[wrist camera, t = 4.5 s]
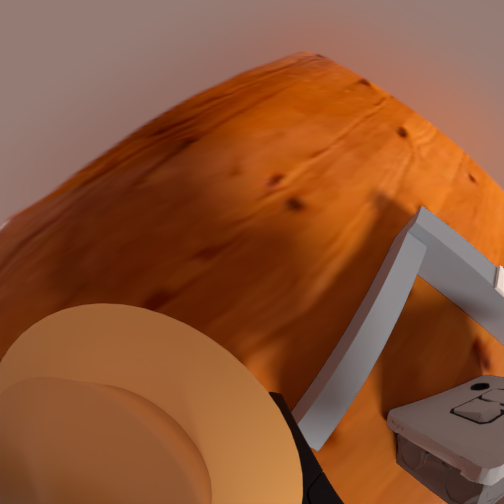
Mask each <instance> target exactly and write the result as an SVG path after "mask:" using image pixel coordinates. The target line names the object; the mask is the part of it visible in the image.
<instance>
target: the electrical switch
mask: <svg viewBox="0 0 504 504" xmlns="http://www.w3.org/2000/svg"><path fill="white" fill-rule="evenodd" d="M386 425H387V426H388V428H389V429H390V430H392V431H393V432H395V433H398V438H397V442H398V453H397V460H396V463H397V464H398V465H400V466H401V467H402V468H403V469H404V470H406V471H407V472H408V473H409V474H411V475H412V476H413V477H414V478H416V479H417V480H418V481H419V482H421V483H422V484H423V485H424V486H426V487H427V488H428V489H429V490H431V491H432V492H433V493H435V494H436V495H437V496H439V497H440V498H441V499H443V500H444V501H445V502H447V503H448V504H494V503H496V502H497V501H498V500H500V499H501V498H502V497H503V496H504V377H499V376H493V375H484V376H480V377H477V378H475V379H473V380H471V381H469V382H466V383H464V384H462V385H459V386H457V387H454V388H452V389H449V390H447V391H444V392H442V393H439V394H436V395H434V396H431V397H428V398H425V399H422V400H420V401H417V402H414V403H411V404H407V405H404V406H401V407H398V408H394V409H392V410H390V411H389V413H388V418H387V423H386ZM424 461H425V464H424ZM450 468H451V469H450ZM496 497H497V498H496Z"/></svg>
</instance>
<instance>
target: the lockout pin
mask: <svg viewBox="0 0 504 504" xmlns="http://www.w3.org/2000/svg"><path fill="white" fill-rule="evenodd" d="M302 497H303V479H302V470H301V464H300V459H299V454H298V451H297V448H296V445H295V442H294V439H293V436H292V433H291V431H290V429H289V427H288V425H287V423H286V421H285V419H284V417H283V415H282V413H281V411H280V409H279V408H278V406H277V405H276V404H275V402H274V401H273V399H272V398H271V396H270V395H269V393H268V392H267V390H266V389H265V388H264V387H263V386H262V384H261V383H260V382H259V381H258V380H257V379H256V378H255V376H254V375H253V374H252V373H251V372H250V371H249V369H247V368H246V367H245V366H244V365H243V364H242V363H241V362H240V361H239V360H237V359H236V358H235V357H234V356H233V355H232V354H231V353H230V352H229V351H227V350H226V349H225V348H223V347H222V346H220V345H219V344H218V343H216V342H215V341H214V340H212V339H211V338H210V337H208V336H206V335H205V334H203V333H201V332H199V331H198V330H196V329H194V328H192V327H191V326H189V325H187V324H185V323H183V322H180V321H178V320H176V319H173V318H171V317H169V316H167V315H164V314H161V313H158V312H154V311H151V310H148V309H145V308H140V307H134V306H129V305H123V304H105V303H99V304H88V305H80V306H76V307H72V308H68V309H64V310H61V311H59V312H56V313H54V314H51V315H49V316H47V317H45V318H43V319H42V320H40V321H38V322H37V323H35V324H33V325H32V326H31V327H30V328H29V329H27V330H26V331H25V332H24V333H23V334H21V335H20V336H19V338H18V339H17V340H16V341H15V342H14V343H13V344H12V345H11V347H10V348H9V349H8V351H7V352H6V354H5V356H4V357H3V359H2V360H1V362H0V504H302Z"/></svg>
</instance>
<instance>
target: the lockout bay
mask: <svg viewBox="0 0 504 504" xmlns="http://www.w3.org/2000/svg"><path fill="white" fill-rule="evenodd" d="M417 275H418V276H420V277H421V278H422V279H424V280H425V281H426V282H428V283H429V284H430V285H432V286H433V287H434V288H435V289H437V290H438V291H439V292H441V293H442V294H443V295H444V296H446V297H447V298H448V299H449V300H451V301H452V302H453V303H454V304H456V305H457V306H458V307H459V308H461V309H462V310H463V311H464V312H466V313H467V314H468V315H469V316H470V317H472V318H473V319H474V320H475V321H476V322H477V323H479V324H480V325H481V326H482V327H483V328H484V329H486V330H487V331H488V332H489V333H490V334H491V335H492V336H494V337H495V338H496V339H497V340H498V341H499V342H500V343H501V344H503V345H504V268H503V267H502V266H501V265H500V266H499V267H498V268H497V267H496V266H494V265H493V264H492V263H491V262H490V261H489V260H488V259H487V258H486V257H485V256H484V255H482V254H481V253H480V252H479V251H478V250H477V249H476V248H475V247H473V246H472V245H471V244H470V243H469V242H468V241H466V240H465V239H464V238H463V237H462V236H460V235H459V234H458V233H457V232H456V231H454V230H453V229H452V228H451V227H449V226H448V225H447V224H446V223H444V222H443V221H442V220H440V219H439V218H438V217H437V216H435V215H434V214H433V213H431V212H430V211H429V210H427V209H426V208H425V207H423V206H421V207H420V209H419V210H418V211H417V212H416V213H415V215H414V216H413V217H412V218H411V219H410V221H409V222H408V223H407V224H406V225H405V226H404V228H403V229H402V230H401V231H400V232H399V233H398V234H397V236H396V237H395V238H394V241H393V243H392V245H391V247H390V249H389V251H388V254H387V255H386V257H385V259H384V261H383V263H382V265H381V267H380V269H379V271H378V273H377V275H376V277H375V279H374V281H373V283H372V285H371V287H370V288H369V290H368V292H367V294H366V296H365V298H364V299H363V301H362V303H361V305H360V307H359V308H358V310H357V312H356V314H355V315H354V317H353V319H352V321H351V322H350V324H349V326H348V327H347V329H346V331H345V332H344V334H343V336H342V337H341V339H340V341H339V342H338V344H337V345H336V347H335V349H334V350H333V352H332V353H331V355H330V357H329V358H328V360H327V361H326V363H325V364H324V366H323V367H322V369H321V370H320V372H319V373H318V375H317V376H316V378H315V379H314V381H313V382H312V384H311V385H310V387H309V388H308V389H307V391H306V392H305V394H304V395H303V397H302V398H301V399H300V401H299V402H298V404H297V405H296V406H295V408H294V409H293V410H292V412H291V413H292V415H293V417H294V419H295V421H296V423H297V424H298V426H299V428H300V430H301V432H302V434H303V436H304V437H305V439H306V441H307V443H308V445H309V446H310V447H311V448H313V449H315V450H317V451H319V450H320V448H321V447H322V445H323V444H324V443H325V441H326V440H327V439H328V437H329V436H330V434H331V433H332V432H333V430H334V429H335V427H336V426H337V424H338V423H339V421H340V420H341V418H342V417H343V415H344V414H345V412H346V411H347V409H348V408H349V406H350V405H351V403H352V402H353V400H354V398H355V397H356V395H357V393H358V392H359V390H360V389H361V387H362V385H363V384H364V382H365V380H366V378H367V377H368V375H369V373H370V371H371V370H372V368H373V366H374V364H375V362H376V361H377V359H378V357H379V355H380V353H381V351H382V349H383V348H384V346H385V344H386V342H387V340H388V338H389V336H390V334H391V332H392V330H393V328H394V326H395V324H396V321H397V319H398V317H399V315H400V313H401V311H402V309H403V306H404V304H405V302H406V300H407V297H408V295H409V293H410V290H411V288H412V285H413V283H414V281H415V278H416V276H417ZM496 498H497V497H496ZM494 504H504V496H503V497H502V498H501V499H500V500H498V501H497V502H496V503H494Z"/></svg>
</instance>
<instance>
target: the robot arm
mask: <svg viewBox="0 0 504 504" xmlns="http://www.w3.org/2000/svg"><path fill="white" fill-rule="evenodd" d="M269 395H270V396H271V398H272V399H273V401H274V402H275V404H276V405H277V406H278V408H279V409H280V411H281V413H282V415H283V417H284V419H285V421H286V423H287V425H288V427H289V429H290V431H291V433H292V436H293V439H294V442H295V445H296V448H297V451H298V454H299V459H300V464H301V470H302V479H303V497H302V504H344V503H343V501H342V500H341V499H340V497H339V496H338V495H337V493H336V492H335V490H334V489H333V487H332V485H331V484H330V482H329V481H328V479H327V477H326V475H325V473H324V472H322V471H323V470H322V468H321V466H320V465H319V463H318V461H317V459H316V457H315V456H314V454H313V452H312V450H311V448H310V447H309V445H308V443H307V441H306V439H305V437H304V436H303V434H302V432H301V430H300V428H299V426H298V424H297V423H296V421H295V419H294V417H293V415H292V413H291V411H290V409H289V407H288V405H287V404H286V402H285V400H284V398H283V396H282V394H280V393H275V392H269ZM321 472H322V473H321Z"/></svg>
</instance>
